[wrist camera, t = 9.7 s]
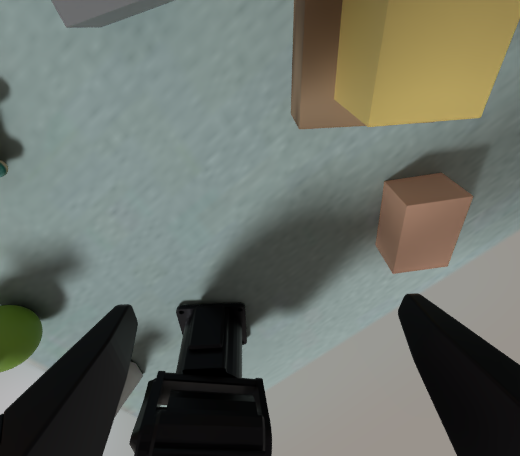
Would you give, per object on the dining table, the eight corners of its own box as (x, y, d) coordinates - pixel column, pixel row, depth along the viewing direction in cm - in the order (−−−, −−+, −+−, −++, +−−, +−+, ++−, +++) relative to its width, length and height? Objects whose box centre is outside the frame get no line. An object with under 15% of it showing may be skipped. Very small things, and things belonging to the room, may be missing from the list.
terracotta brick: (422, 236, 23) (447, 266, 20) (374, 243, 23) (392, 273, 21) (440, 171, 20) (473, 196, 17) (383, 180, 20) (407, 206, 17)
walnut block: (402, 106, 17) (434, 122, 14) (290, 111, 17) (299, 129, 14) (459, -120, 12) (528, -166, 9) (295, -114, 12) (312, -158, 9)
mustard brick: (416, 92, 13) (480, 117, 10) (334, 99, 13) (367, 126, 10) (462, -93, 10) (590, -160, 6) (349, -83, 10) (412, -146, 6)
